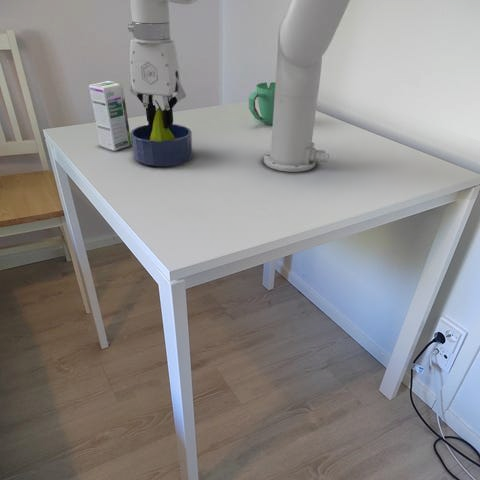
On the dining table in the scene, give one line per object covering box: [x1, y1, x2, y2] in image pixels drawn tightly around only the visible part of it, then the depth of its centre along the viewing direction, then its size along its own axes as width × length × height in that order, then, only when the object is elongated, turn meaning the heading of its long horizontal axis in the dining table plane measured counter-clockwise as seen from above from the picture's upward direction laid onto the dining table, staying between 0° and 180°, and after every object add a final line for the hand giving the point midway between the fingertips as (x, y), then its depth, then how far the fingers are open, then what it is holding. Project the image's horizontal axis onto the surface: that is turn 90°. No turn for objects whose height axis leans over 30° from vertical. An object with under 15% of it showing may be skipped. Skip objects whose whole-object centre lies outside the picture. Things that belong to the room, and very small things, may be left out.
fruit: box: [150, 99, 175, 141], centre depth 100 cm, size 6×6×12 cm
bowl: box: [130, 123, 193, 167], centre depth 103 cm, size 14×14×6 cm
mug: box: [248, 81, 276, 126], centre depth 125 cm, size 15×10×10 cm
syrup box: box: [88, 80, 132, 152], centre depth 106 cm, size 6×6×14 cm
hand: (160, 125), depth 100 cm, fingers closed on fruit, 3 cm apart
